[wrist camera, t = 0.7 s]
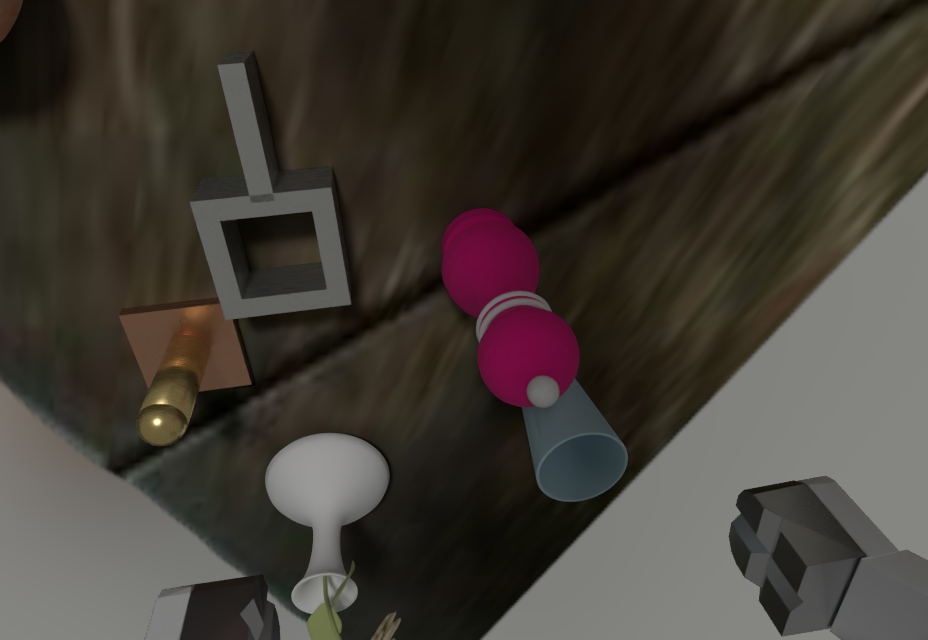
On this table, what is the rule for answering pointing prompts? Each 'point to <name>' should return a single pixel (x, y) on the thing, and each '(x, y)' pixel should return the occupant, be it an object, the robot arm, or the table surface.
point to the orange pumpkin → (8, 15)
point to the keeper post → (182, 361)
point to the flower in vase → (328, 518)
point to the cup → (573, 447)
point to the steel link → (267, 213)
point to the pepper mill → (508, 309)
